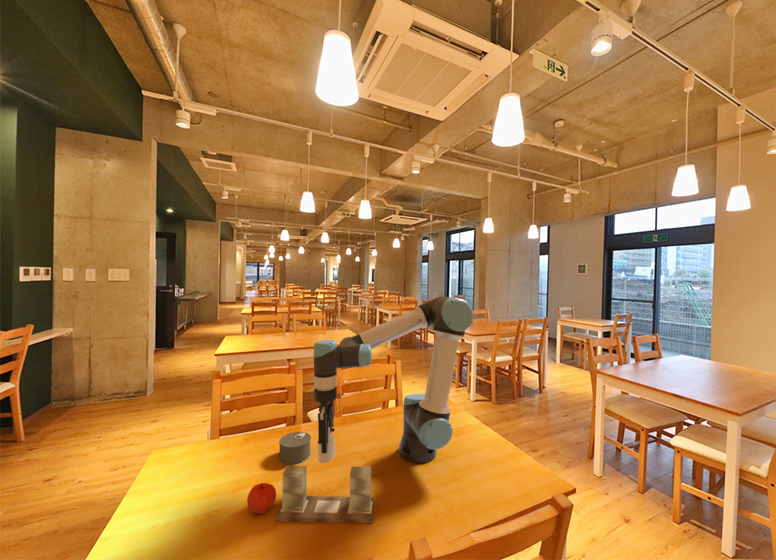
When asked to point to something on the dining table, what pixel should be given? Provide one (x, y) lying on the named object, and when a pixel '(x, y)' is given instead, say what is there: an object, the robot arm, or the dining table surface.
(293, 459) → the can
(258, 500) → the apple
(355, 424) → the dining table surface
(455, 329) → the robot arm
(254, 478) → the dining table surface
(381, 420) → the dining table surface
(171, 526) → the dining table surface
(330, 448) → the eye dropper bottle
